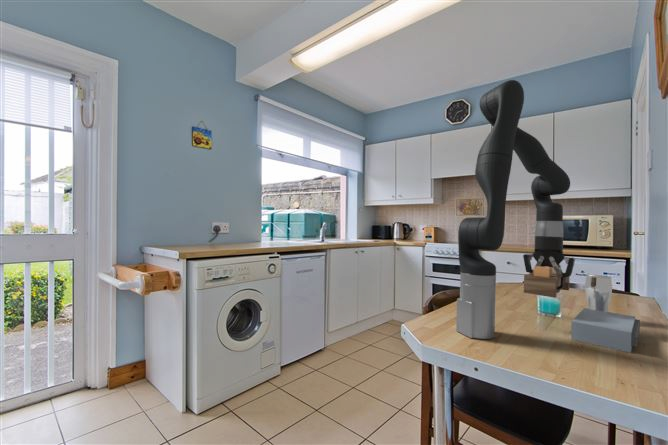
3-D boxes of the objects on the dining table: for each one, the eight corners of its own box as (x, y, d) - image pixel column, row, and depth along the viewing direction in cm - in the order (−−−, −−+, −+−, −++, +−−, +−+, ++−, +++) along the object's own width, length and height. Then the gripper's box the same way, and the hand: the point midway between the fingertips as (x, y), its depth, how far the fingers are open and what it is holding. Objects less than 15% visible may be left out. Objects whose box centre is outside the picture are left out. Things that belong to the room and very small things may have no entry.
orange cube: (548, 282, 92) (549, 268, 92) (533, 280, 95) (533, 267, 95) (552, 280, 95) (552, 267, 95) (536, 278, 98) (537, 266, 98)
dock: (636, 354, 77) (636, 333, 77) (571, 339, 86) (571, 321, 86) (639, 334, 92) (640, 317, 92) (583, 323, 101) (584, 308, 101)
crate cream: (558, 278, 101) (558, 266, 101) (543, 276, 104) (544, 264, 104) (560, 277, 104) (561, 265, 104) (546, 275, 106) (547, 264, 106)
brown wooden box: (555, 297, 89) (555, 278, 89) (523, 292, 95) (524, 274, 95) (569, 289, 103) (569, 273, 103) (541, 285, 109) (541, 270, 109)
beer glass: (617, 323, 102) (618, 278, 102) (595, 323, 102) (596, 277, 102) (599, 317, 109) (600, 274, 109) (579, 316, 109) (580, 274, 109)
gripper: (579, 236, 97) (577, 290, 97) (526, 234, 107) (525, 283, 107) (574, 236, 92) (573, 293, 92) (520, 234, 102) (518, 285, 102)
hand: (547, 287), depth 99 cm, fingers closed on brown wooden box, 5 cm apart
